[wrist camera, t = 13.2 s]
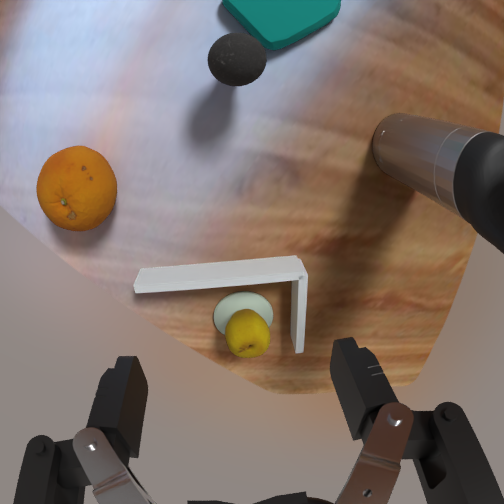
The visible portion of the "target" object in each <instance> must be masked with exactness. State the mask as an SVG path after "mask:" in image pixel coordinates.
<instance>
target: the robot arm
mask: <svg viewBox="0 0 504 504" xmlns="http://www.w3.org/2000/svg"><path fill="white" fill-rule="evenodd" d="M373 154H374V158H375V160H376V162H377V164H378V166H379V167H380V168H381V170H382V171H384V172H385V173H386V174H388V175H389V176H391V177H393V178H395V179H397V180H398V181H400V182H402V183H404V184H405V185H407V186H409V187H411V188H413V189H414V190H416V191H418V192H419V193H421V194H423V195H425V196H426V197H428V198H430V199H431V200H433V201H435V202H436V203H438V204H440V205H441V206H443V207H445V208H446V209H448V210H450V211H451V212H453V213H454V214H456V215H458V216H459V217H461V218H462V219H464V220H465V221H467V222H468V223H470V224H471V225H472V227H473V228H474V229H475V230H476V232H477V233H479V234H480V235H481V236H482V237H483V238H485V239H486V240H487V241H489V242H490V243H491V244H493V245H494V246H495V247H496V248H497V249H499V250H500V251H501V252H502V253H503V254H504V136H503V135H500V134H497V133H493V132H489V131H486V130H482V129H478V128H474V127H469V126H465V125H461V124H456V123H452V122H447V121H442V120H437V119H432V118H427V117H421V116H416V115H410V114H403V113H397V114H393V115H390V116H388V117H387V118H385V119H384V120H383V121H382V122H381V123H380V124H379V126H378V127H377V129H376V131H375V134H374V137H373ZM330 374H331V378H332V381H333V384H334V387H335V390H336V392H337V395H338V398H339V401H340V404H341V406H342V409H343V412H344V415H345V418H346V421H347V424H348V427H349V430H350V432H351V435H352V438H353V440H358V439H362V441H363V444H364V446H363V448H362V450H361V452H360V454H359V457H358V459H357V461H356V463H355V465H354V468H353V469H352V472H351V474H350V476H349V477H348V479H347V482H346V483H345V485H344V487H343V489H342V491H341V493H340V494H339V496H338V498H337V500H336V502H335V504H387V503H388V500H389V498H390V496H391V493H392V490H393V488H394V485H395V483H396V481H397V478H398V475H399V472H400V469H401V466H400V461H401V459H413V462H414V465H415V467H416V470H417V473H418V476H419V479H420V482H421V485H422V488H423V491H424V494H425V497H426V501H427V504H504V498H503V496H502V494H501V491H500V488H499V486H498V483H497V481H496V479H495V476H494V474H493V472H492V469H491V467H490V465H489V463H488V460H487V458H486V456H485V454H484V452H483V449H482V447H481V445H480V443H479V441H478V439H477V437H476V435H475V433H474V431H473V429H472V427H471V425H470V423H469V421H468V419H467V417H466V415H465V413H464V411H463V409H462V408H461V407H460V406H458V405H457V404H455V403H452V402H444V403H441V404H439V405H438V406H437V407H436V408H435V410H434V411H413V410H410V408H409V407H407V406H406V405H404V404H402V403H399V401H398V399H397V398H396V396H395V394H394V392H393V390H392V388H391V386H390V384H389V382H388V380H387V378H386V376H385V374H384V373H383V370H382V368H381V366H380V365H379V362H378V360H377V358H376V356H375V355H374V354H373V353H372V352H371V351H370V350H368V349H367V348H366V347H364V348H358V346H357V344H356V342H355V340H354V338H353V337H350V338H343V339H337V340H334V343H333V349H332V356H331V362H330ZM147 396H148V385H147V380H146V377H145V375H144V373H143V370H142V367H141V365H140V362H139V360H138V358H137V357H136V356H119V357H118V358H117V361H116V364H115V368H112V369H111V368H108V369H107V371H106V372H105V373H104V374H103V375H102V377H101V379H100V382H99V385H98V390H97V392H96V397H95V398H94V402H93V405H92V409H91V412H90V416H89V419H88V423H87V426H86V428H84V429H82V430H80V431H79V432H78V433H77V434H76V435H75V437H74V439H70V440H65V441H59V442H53V440H52V439H51V438H49V437H48V436H45V435H38V436H36V437H34V438H32V439H31V440H30V441H29V443H28V444H27V447H26V451H25V455H24V458H23V463H22V466H21V470H20V474H19V479H18V483H17V488H16V493H15V498H14V503H13V504H83V503H84V494H85V486H88V485H92V486H93V488H94V490H93V494H94V496H95V498H96V500H97V502H98V503H99V504H156V502H155V501H154V500H153V499H152V498H151V496H150V495H149V494H148V492H147V491H146V490H145V488H144V487H143V486H142V484H141V483H140V481H139V480H138V479H137V477H136V476H135V474H134V473H133V471H132V470H131V469H130V467H129V466H128V463H129V457H132V458H138V456H139V448H140V441H141V433H142V427H143V421H144V414H145V407H146V402H147ZM188 504H233V503H227V502H222V501H188ZM254 504H334V503H331V502H329V501H326V500H323V499H319V498H312V497H307V496H306V492H299V493H293V494H286V495H279V496H275V497H272V498H269V499H266V500H263V501H260V502H257V503H254Z"/></svg>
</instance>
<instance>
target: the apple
mask: <svg viewBox="0 0 504 504" xmlns="http://www.w3.org/2000/svg"><path fill="white" fill-rule="evenodd" d="M225 338H226V342H227V345H228V347H229V349H230V350H231V352H232V353H233V354H235V355H236V356H238V357H242V358H253V357H257V356H260V355H262V354H263V353H264V352H265V351H266V350H267V349H268V347H269V344H270V331H269V327H268V325H267V323H266V321H265V320H264V319H263V318H262V317H261V316H260V315H259V314H258V313H257V312H255V311H254V310H251V309H242V310H239V311H236V312H235V313H234V314H233V315H232V316H231V318H230V320H229V321H228V323H227V325H226V328H225Z"/></svg>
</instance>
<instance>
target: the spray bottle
mask: <svg viewBox="0 0 504 504" xmlns="http://www.w3.org/2000/svg"><path fill="white" fill-rule="evenodd" d="M223 5H224V6H225V8H226V9H227V10H228V11H229V12H230V13H231V14H232V15H233V16H234V17H235V18H236V19H237V20H238V21H239V22H240V24H241V25H242V26H243V27H244V28H245V29H246V30H247V31H248V32H249V33H250V34H251V35H252V36H253V37H254V38H256V39H257V40H258V41H259V42H260V43H261V44H262V45H263V46H264V47H265V48H267V49H270V50H278V49H281V48H284V47H286V46H288V45H290V44H292V43H294V42H296V41H299V40H300V39H302V38H304V37H305V36H307V35H309V34H311V33H312V32H314V31H316V30H318V29H320V28H321V27H323V26H325V25H326V24H328V23H329V22H330V21H331V20H333V19H334V18H335V17H336V16H337V15H338V13H339V10H340V6H341V0H223Z"/></svg>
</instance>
